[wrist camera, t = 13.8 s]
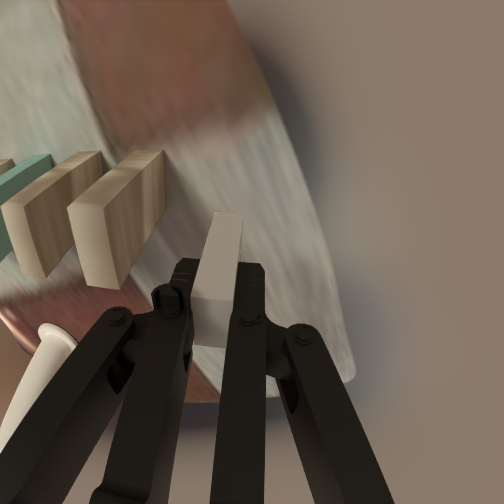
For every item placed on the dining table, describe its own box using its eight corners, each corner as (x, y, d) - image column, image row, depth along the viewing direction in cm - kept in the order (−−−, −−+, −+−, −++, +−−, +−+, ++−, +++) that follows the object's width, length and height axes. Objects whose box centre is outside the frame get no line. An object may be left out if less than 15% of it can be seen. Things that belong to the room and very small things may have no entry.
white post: (83, 360, 38) (33, 506, 17) (46, 345, 37) (-10, 480, 16) (75, 332, 34) (10, 498, 13) (35, 316, 33) (-36, 465, 13)
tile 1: (141, 207, 24) (87, 285, 16) (136, 149, 21) (66, 207, 13) (165, 208, 24) (119, 289, 16) (163, 149, 21) (103, 208, 13)
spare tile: (42, 204, 24) (-21, 265, 15) (33, 155, 21) (-42, 206, 13) (59, 204, 24) (-6, 268, 15) (50, 153, 21) (-28, 206, 13)
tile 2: (86, 205, 24) (23, 274, 15) (78, 151, 21) (0, 206, 13) (107, 206, 24) (46, 278, 15) (100, 150, 21) (23, 206, 13)
